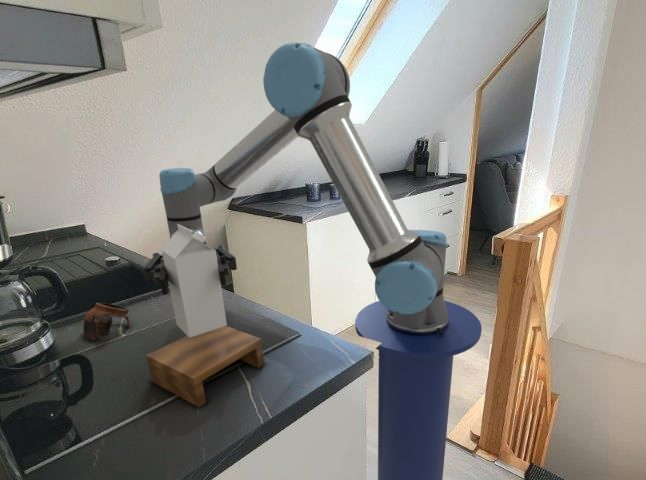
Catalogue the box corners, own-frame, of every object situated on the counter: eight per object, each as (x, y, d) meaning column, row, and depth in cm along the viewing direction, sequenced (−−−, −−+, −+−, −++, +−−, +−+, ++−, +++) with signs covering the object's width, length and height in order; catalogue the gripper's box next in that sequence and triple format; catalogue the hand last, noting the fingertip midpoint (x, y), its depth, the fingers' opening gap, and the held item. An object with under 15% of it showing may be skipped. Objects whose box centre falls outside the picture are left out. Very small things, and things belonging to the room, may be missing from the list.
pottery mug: (81, 331, 99) (91, 299, 99) (124, 339, 103) (133, 308, 104) (76, 340, 88) (87, 304, 89) (124, 349, 93) (134, 314, 93)
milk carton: (189, 338, 72) (169, 235, 65) (176, 325, 77) (156, 227, 70) (227, 326, 76) (212, 227, 69) (212, 314, 81) (197, 220, 74)
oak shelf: (264, 364, 83) (261, 338, 81) (198, 407, 71) (192, 378, 68) (218, 345, 90) (214, 321, 88) (152, 382, 78) (145, 355, 76)
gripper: (241, 257, 93) (259, 292, 74) (137, 271, 86) (128, 313, 66) (237, 225, 90) (255, 253, 71) (130, 236, 83) (117, 270, 63)
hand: (193, 282), depth 69 cm, fingers closed on milk carton, 9 cm apart
